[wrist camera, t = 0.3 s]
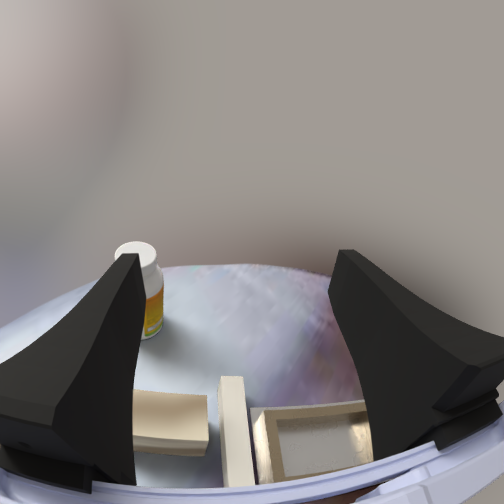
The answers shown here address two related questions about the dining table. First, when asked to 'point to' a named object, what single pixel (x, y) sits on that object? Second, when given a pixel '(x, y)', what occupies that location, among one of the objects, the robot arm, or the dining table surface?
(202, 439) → the bar
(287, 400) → the dining table surface
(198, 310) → the dining table surface
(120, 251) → the supplement bottle
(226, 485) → the board
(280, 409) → the keeper
